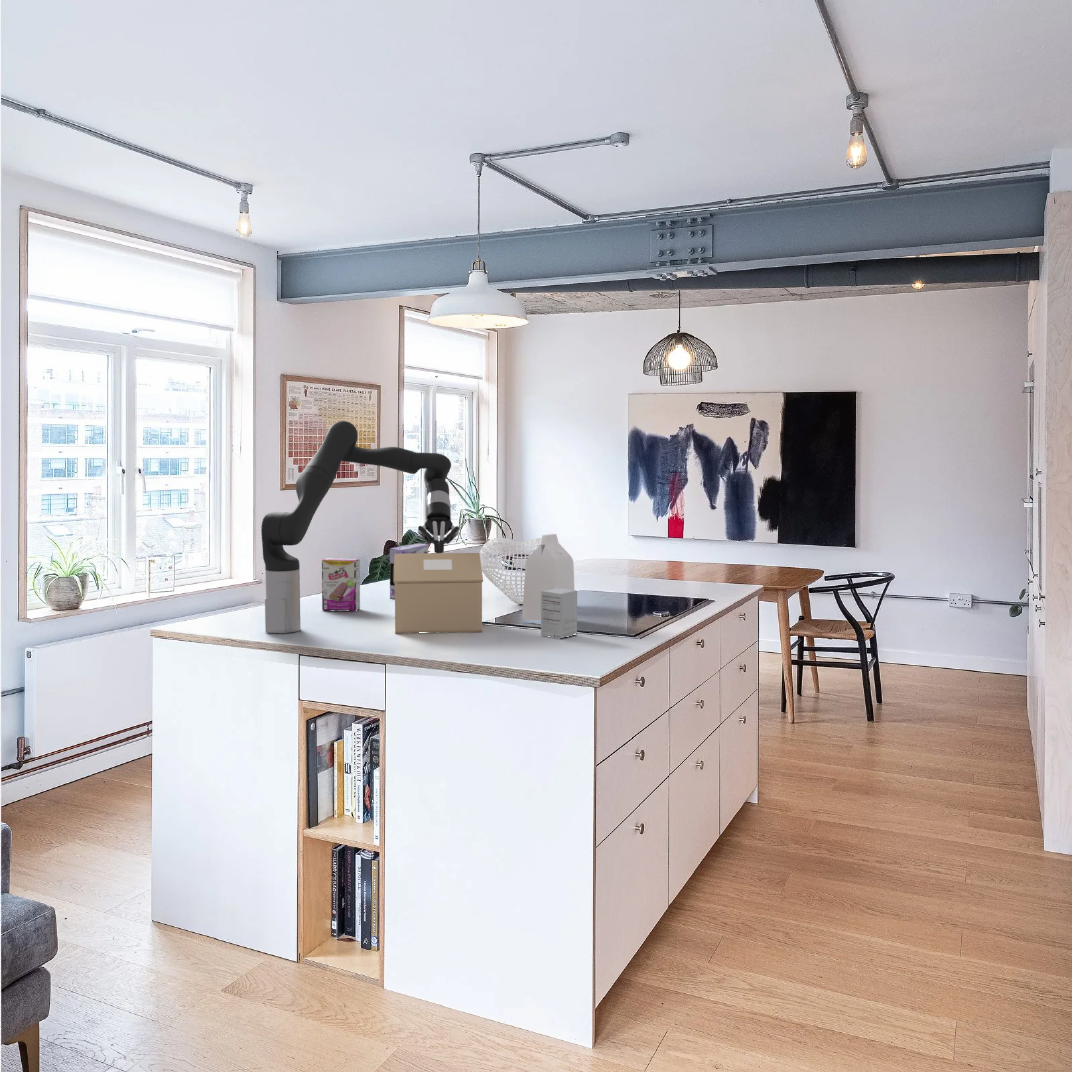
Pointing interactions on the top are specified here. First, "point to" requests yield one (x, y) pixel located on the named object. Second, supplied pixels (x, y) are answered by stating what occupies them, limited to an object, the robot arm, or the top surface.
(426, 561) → the carton lid
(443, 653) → the top surface
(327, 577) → the candy bar box
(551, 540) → the milk
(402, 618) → the carton
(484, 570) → the white mesh basket
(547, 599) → the supplement box
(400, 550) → the cake pan box
